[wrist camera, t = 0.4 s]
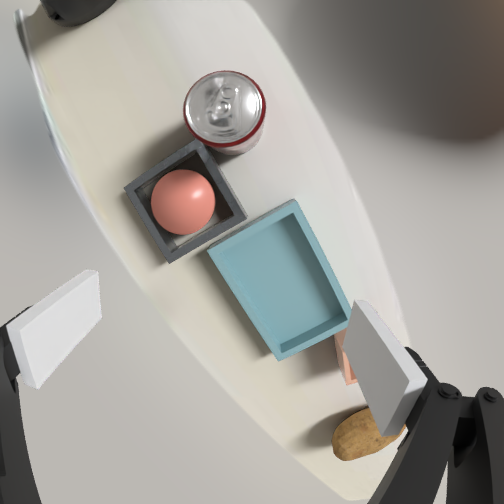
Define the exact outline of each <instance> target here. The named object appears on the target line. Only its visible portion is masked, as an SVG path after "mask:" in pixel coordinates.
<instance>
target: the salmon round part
mask: <svg viewBox="0 0 504 504" xmlns="http://www.w3.org/2000/svg"><path fill="white" fill-rule="evenodd" d="M151 207H152V211H153V214H154V216H155V218H156V220H157V221H158V223H159V224H160V225H161V226H162V227H163V228H164V229H166V230H168V231H170V232H172V233H175V234H182V235H184V234H191V233H194V232H196V231H198V230H200V229H201V228H202V227H203V226H205V225H206V224H207V222H208V221H209V220H210V218H211V217H212V215H213V212H214V209H215V193H214V190H213V188H212V186H211V184H210V183H209V181H208V180H207V179H206V178H205V177H204V176H203V175H201V174H199V173H197V172H195V171H192V170H175V171H172V172H170V173H168V174H166V175H165V176H163V177H162V178H161V179H160V180H159V181H158V182H157V184H156V186H155V187H154V190H153V193H152V197H151Z"/></svg>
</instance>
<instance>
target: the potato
mask: <svg viewBox="0 0 504 504" xmlns="http://www.w3.org/2000/svg"><path fill="white" fill-rule="evenodd" d="M405 427H406V425H405V424H404V426H403V428H402V430H401V431H400V433H399V435H392V436H385V437H381V435H380V432H379V430H378V428H377V425H376V423H375V420H374V418H373V416H372V413H371V411H370V409H369V408H367V409H364V410H361V411H359V412H357V413H355V414H353V415H351V416H350V417H348V418H347V419H346V420H344V421H343V422H342V423H341V424H340V425H339V426H338V427H337V428H336V430H335V432H334V434H333V437H332V446H333V452H334V454H335V455H336V457H338V458H339V459H341V460H343V461H349V460H354V459H357V458H360V457H363V456H366V455H369V454H373V453H376V452H378V451H379V450H381V449H383V448H384V447H386V446H387V445H388V444H390V443H391V442H393V441H394V440H396V439H397V438H398V437H399V436H400V435H401V434H402V432H403V431H404V429H405Z"/></svg>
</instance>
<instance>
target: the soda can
mask: <svg viewBox="0 0 504 504" xmlns="http://www.w3.org/2000/svg"><path fill="white" fill-rule="evenodd" d="M265 113H266V102H265V97H264V95H263V92H262V90H261V89H260V87H259V86H258V84H257V83H256V82H255V81H254V80H252V79H251V78H250V77H248V76H247V75H244V74H242V73H239V72H235V71H225V70H224V71H217V72H213V73H210V74H208V75H206V76H204V77H202V78H201V79H199V80H198V81H197V82H196V83H195V84H194V85H193V86H192V87H191V88H190V90H189V92H188V93H187V95H186V98H185V101H184V105H183V117H184V121H185V124H186V126H187V128H188V130H189V131H190V133H191V134H192V135H193V136H194V137H195V138H196V139H198V140H199V141H200V142H202V143H204V144H206V145H207V146H209V147H211V148H213V149H214V150H216V151H218V152H220V153H223V154H227V155H238V154H242V153H245V152H247V151H249V150H250V149H252V148H253V147H254V146H255V145H256V144H257V143H258V141H259V139H260V138H261V135H262V132H263V126H264V120H265Z"/></svg>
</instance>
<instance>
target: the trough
mask: <svg viewBox="0 0 504 504" xmlns="http://www.w3.org/2000/svg"><path fill="white" fill-rule="evenodd" d="M207 252H208V253H209V255H210V257H211V258H212V260H213V262H214V263H215V265H216V266H217V268H218V270H219V271H220V273H221V274H222V276H223V277H224V279H225V281H226V282H227V284H228V285H229V287H230V289H231V290H232V292H233V293H234V295H235V296H236V298H237V299H238V301H239V303H240V304H241V306H242V307H243V309H244V310H245V312H246V313H247V315H248V317H249V318H250V320H251V321H252V323H253V324H254V326H255V327H256V329H257V330H258V332H259V333H260V335H261V336H262V338H263V339H264V341H265V342H266V344H267V345H268V347H269V348H270V350H271V351H272V353H273V354H274V356H275V357H276V359H277V360H278V361H281V360H283V359H285V358H287V357H289V356H291V355H293V354H295V353H298V352H300V351H302V350H304V349H306V348H308V347H310V346H312V345H314V344H316V343H318V342H320V341H322V340H324V339H326V338H328V337H330V336H331V335H333V334H335V333H337V332H339V331H341V330H343V329H345V328H347V327H348V323H349V319H350V315H351V311H352V309H351V307H350V305H349V303H348V301H347V299H346V297H345V295H344V292H343V290H342V288H341V286H340V284H339V282H338V280H337V278H336V276H335V274H334V272H333V270H332V268H331V266H330V264H329V262H328V260H327V258H326V256H325V254H324V252H323V250H322V248H321V246H320V244H319V242H318V240H317V238H316V236H315V234H314V232H313V231H312V229H311V227H310V225H309V223H308V221H307V219H306V217H305V215H304V214H303V212H302V210H301V208H300V206H299V204H298V202H297V201H296V200H295V199H292V200H290V201H288V202H286V203H284V204H283V205H281V206H279V207H277V208H275V209H274V210H272V211H270V212H268V213H266V214H265V215H263V216H261V217H259V218H257V219H256V220H254V221H252V222H250V223H248V224H247V225H245V226H243V227H241V228H240V229H238V230H236V231H234V232H233V233H231V234H229V235H227V236H226V237H224V238H222V239H220V240H219V241H217V242H215V243H213V244H212V245H210V247H209V248H208V250H207Z"/></svg>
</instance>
